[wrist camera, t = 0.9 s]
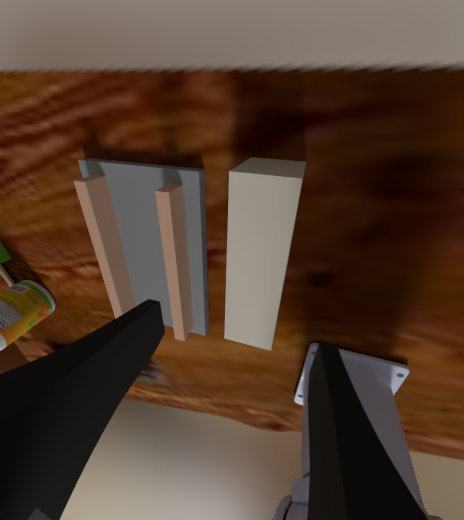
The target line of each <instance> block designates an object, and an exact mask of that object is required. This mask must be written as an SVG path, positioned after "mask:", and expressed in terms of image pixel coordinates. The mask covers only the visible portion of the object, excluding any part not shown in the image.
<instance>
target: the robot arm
mask: <svg viewBox="0 0 464 520" xmlns="http://www.w3.org/2000/svg"><path fill="white" fill-rule="evenodd" d="M164 333H165V329H164V323H163V317H162V310H161V304H160V301H156V300H152V299H147V300H146V301H144V302H142V303H141V304H139V305H137V306H136V307H134V308H132V309H131V310H129V311H128V312H126V313H124V314H123V315H121V316H119V317H118V318H116V319H114V320H113V321H111V322H109V323H108V324H106V325H104V326H103V327H101V328H99V329H97V330H95V331H93V332H92V333H90V334H88V335H86V336H84V337H83V338H81V339H79V340H77V341H75V342H73V343H71V344H69V345H67V346H65V347H63V348H61V349H59V350H57V351H55V352H53V353H50V354H48V355H46V356H44V357H41V358H39V359H37V360H34V361H32V362H29V363H27V364H24V365H22V366H20V367H17V368H15V369H12V370H10V371H7V372H4V373H2V374H0V520H60V517H61V515H62V513H63V511H64V509H65V507H66V504H67V502H68V500H69V498H70V496H71V494H72V492H73V489H74V488H75V485H76V483H77V481H78V479H79V477H80V475H81V473H82V471H83V469H84V467H85V465H86V463H87V461H88V459H89V458H90V456H91V453H92V452H93V450H94V448H95V446H96V444H97V442H98V441H99V439H100V437H101V435H102V433H103V431H104V429H105V428H106V426H107V424H108V422H109V420H110V419H111V417H112V415H113V413H114V412H115V410H116V408H117V407H118V405H119V403H120V402H121V400H122V399H123V397H124V396H125V394H126V393H127V391H128V390H129V388H130V387H131V386H132V384H133V383H134V381H135V380H136V378H137V377H138V375H139V374H140V373H141V371H142V370H143V368H144V367H145V365H146V364H147V362H148V361H149V360H150V358H151V357H152V355H153V354H154V352H155V350H156V348H157V347H158V345H159V343H160V341H161V339H162V337H163V335H164ZM313 351H314V352H313ZM409 372H410V371H409V368H408V367H407V366H406V365H404V364H400V363H396V362H392V361H388V360H383V359H379V358H375V357H371V356H367V355H363V354H359V353H355V352H351V351H347V350H343V349H339V348H338V346H337V345H336V344H332V343H328V342H324V341H320V342H319V344H318V343H312V344H310V346H309V350H308V353H307V356H306V360H305V363H304V366H303V370H302V373H301V376H300V380H299V383H298V386H297V390H296V393H295V396H294V401H295V402H296V403H298V404H301V405H303V425H302V448H301V471H302V478H301V479H293V486H292V495H288V496H286V497H284V498H283V499H282V501H281V502H280V504H279V506H278V508H277V510H276V512H275V514H274V517H273V519H272V520H442V519H441V518H440V517H438V516H432V515H428V513H427V511H426V509H425V508H424V505H423V501H422V497H421V494H420V490H419V487H418V483H417V479H416V476H415V472H414V469H413V465H412V461H411V458H410V454H409V450H408V447H407V443H406V439H405V436H404V432H403V429H402V425H401V421H400V418H399V414H398V410H397V407H396V403H395V399H394V394H395V393H396V391H397V390H398V389H399V387H400V386H401V384H402V383H403V381H404V380H405V378H406V377H407V375H408V374H409Z"/></svg>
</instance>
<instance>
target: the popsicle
mask: <svg viewBox="0 0 464 520" xmlns="http://www.w3.org/2000/svg"><path fill="white" fill-rule="evenodd" d="M10 259H12V258H11V256H10V255H9V253H8V252H7V250H6V249H5V247H4V246H3V244H2V243H1V241H0V274H1V275H2V276H3V278H4V279H5V280H6V282H7V283H8V285H9V286H10V287H11V286H13V285H15V283H14V281H13V280H12V279H11V277H10V276H9V274H8V273H7V271H6V270H5V269H4V267H3V266H2V264H1V263H3V262H6V261H8V260H10Z"/></svg>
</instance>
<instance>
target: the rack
mask: <svg viewBox="0 0 464 520" xmlns="http://www.w3.org/2000/svg"><path fill="white" fill-rule="evenodd" d="M78 162H79V166H80V169H81V173H82V176H83V178H82V179H78V180H74V184H75V187H76V190H77V194H78V197H79V200H80V203H81V207H82V210H83V213H84V217H85V220H86V223H87V226H88V230H89V233H90V236H91V239H92V243H93V246H94V249H95V253H96V256H97V259H98V262H99V266H100V269H101V272H102V275H103V279H104V282H105V285H106V288H107V292H108V295H109V298H110V302H111V305H112V308H113V311H114V315H115V318H118V317H119V316H121V315H123V314H124V313H126V312H128V311H129V310H131V309H132V308H134V307H136V306H137V305H139V304H141V303H142V302H144V301H146V300H147V299H152V300H156V301H160V304H161V310H162V317H163V323H164V325H166V326H170V327H174V335H175V339H178V340H182V341H185V340H186V338H187V336H188V335H189V333H190V332H193V333H197V334H200V335H204V336H206V334H207V332H208V330H209V313H208V275H207V238H206V201H205V169H199V168H188V167H178V166H167V165H157V164H146V163H136V162H126V161H115V160H105V159H94V158H85V159H79V160H78Z"/></svg>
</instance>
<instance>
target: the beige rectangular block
mask: <svg viewBox="0 0 464 520" xmlns="http://www.w3.org/2000/svg"><path fill="white" fill-rule="evenodd" d="M305 166H306V162H303V161H291V160H279V159H267V158H255V157H251V158H249V159H248V160H246V161H244V162H243V163H241V164H240V165H238V166H237V167H235V168H234V169H232V170H230V171H229V199H228V234H227V270H226V305H225V339H229V340H233V341H236V342H240V343H244V344H248V345H251V346H255V347H259V348H262V349H266V350H270V351H271V348H272V343H273V338H274V333H275V327H276V322H277V317H278V312H279V307H280V301H281V296H282V290H283V285H284V280H285V274H286V269H287V263H288V258H289V253H290V247H291V242H292V236H293V231H294V226H295V220H296V215H297V209H298V204H299V198H300V193H301V188H302V182H303V177H304V171H305Z"/></svg>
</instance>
